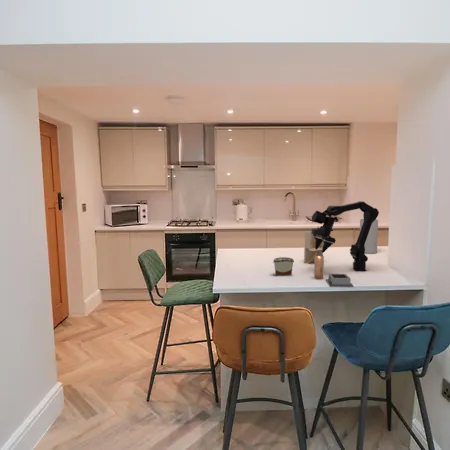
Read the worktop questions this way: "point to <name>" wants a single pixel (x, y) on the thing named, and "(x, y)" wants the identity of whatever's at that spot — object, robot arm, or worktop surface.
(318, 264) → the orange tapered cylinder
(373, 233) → the grey tall block
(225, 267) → the worktop surface
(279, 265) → the food container
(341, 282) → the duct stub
